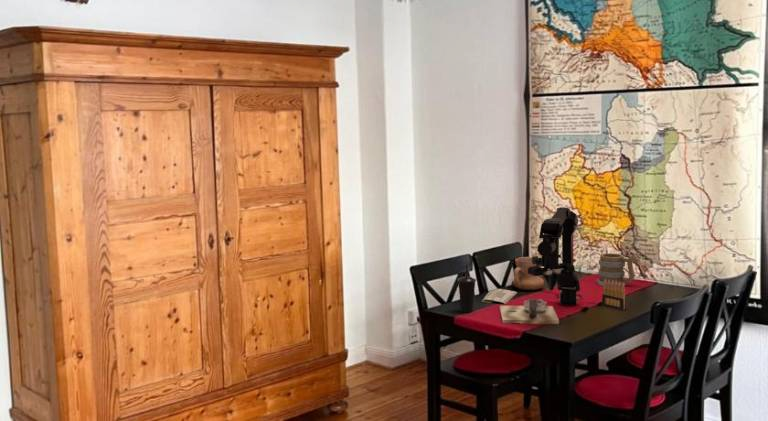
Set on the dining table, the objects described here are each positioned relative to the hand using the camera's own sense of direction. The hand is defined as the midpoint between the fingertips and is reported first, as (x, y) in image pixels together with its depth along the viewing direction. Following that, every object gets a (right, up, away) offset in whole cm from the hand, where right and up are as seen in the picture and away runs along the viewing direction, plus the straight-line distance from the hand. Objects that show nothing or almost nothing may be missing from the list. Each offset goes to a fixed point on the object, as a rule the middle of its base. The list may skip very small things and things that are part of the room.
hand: (550, 290), depth 316 cm
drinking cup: (-32, -11, +18) cm, 38 cm away
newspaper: (-15, -8, +41) cm, 44 cm away
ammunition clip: (+31, -10, +20) cm, 38 cm away
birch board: (-7, -12, +9) cm, 16 cm away
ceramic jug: (+1, -5, +56) cm, 56 cm away
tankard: (+45, -4, +61) cm, 76 cm away
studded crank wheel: (-5, -10, +8) cm, 13 cm away
